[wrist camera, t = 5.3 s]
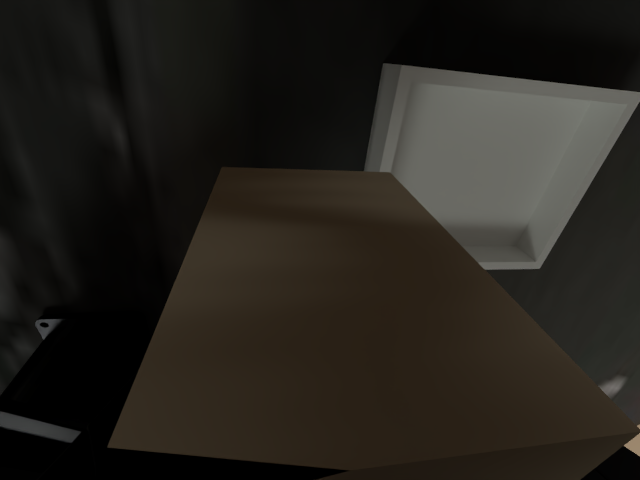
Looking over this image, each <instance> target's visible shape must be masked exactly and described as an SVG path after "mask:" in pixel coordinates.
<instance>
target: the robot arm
mask: <svg viewBox="0 0 640 480" xmlns="http://www.w3.org/2000/svg"><path fill="white" fill-rule="evenodd" d="M136 319H137V320H136ZM35 325H36V327H37V329H38V330H39V332H40V334H41V336H42V337H43V339H44V340H43V341H42V343H41V344H40V345H39V347H38V348H37V349H36V350H35V352H34V353H33V354H32V356H31V357H30V358H29V359H28V361H27V362H26V363H25V365H24V366H23V367H22V368H21V370H20V371H19V372H18V374H17V375H16V376H15V377H14V379H13V380H12V381H11V383H10V384H9V385H8V386H7V388H6V389H5V390H4V391H3V393H2V394H1V395H0V480H107V446H108V444H109V441H110V439H111V437H112V434H113V432H114V429H115V427H116V424H117V422H118V419H119V417H120V415H121V412H122V410H123V407H124V405H125V402H126V400H127V397H128V395H129V393H130V390H131V388H132V385H133V383H134V380H135V378H136V375H137V373H138V371H139V368H140V366H141V363H142V361H143V358H144V356H145V353H146V351H147V349H148V346H149V344H150V341H151V339H152V336H150V332H149V329H148V325H147V322H146V318H145V316H144V315H143V314H142V313H139V312H124V313H93V314H63V315H43V316H41V317H39V319H38V320H37V321H36V323H35ZM580 480H640V456H638V455H637V454H635V453H634V452H632V451H630V450H629V449H627V448H626V447H624V446H622V447H621V448H620V449H619V450H617V451H616V452H615V453H614V454H612V455H611V456H610V457H608V458H607V459H606V460H605V461H603V462H602V463H601V464H599V465H598V466H597V467H596V468H594V469H593V470H592V471H591V472H589V473H588V474H587V475H585V476H584V477H583V478H582V479H580Z"/></svg>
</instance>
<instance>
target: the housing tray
mask: <svg viewBox="0 0 640 480" xmlns="http://www.w3.org/2000/svg"><path fill="white" fill-rule="evenodd" d="M639 102H640V92H632V91H623V90H614V89H606V88H597V87H588V86H579V85H571V84H562V83H553V82H545V81H536V80H527V79H519V78H510V77H501V76H493V75H484V74H475V73H467V72H458V71H449V70H441V69H432V68H423V67H415V66H406V65H397V64H387V63H383V67H382V72H381V78H380V83H379V89H378V95H377V100H376V106H375V111H374V117H373V123H372V128H371V134H370V139H369V145H368V151H367V156H366V162H365V167H364V171H366V172H390V173H391V174H392V175H393V176H394V177H395V178H396V179H397V180H398V181H399V182H400V183H401V184H402V185H403V186H404V187H405V188H406V189H407V190H408V191H409V192H410V193H411V194H412V195H413V196H414V197H415V198H416V200H417V201H418V202H419V203H420V204H421V205H422V206H423V207H424V208H425V209H426V210H427V211H428V212H429V213H430V214H431V215H432V216H433V217H434V218H435V219H436V220H437V221H438V222H439V223H440V224H441V225H442V226H443V227H444V228H445V229H446V230H447V231H448V232H449V233H450V235H451V236H452V237H453V238H454V239H455V240H456V241H457V242H458V243H459V244H460V245H461V246H462V247H463V248H464V249H465V250H466V251H467V252H468V253H469V254H470V255H471V256H472V257H473V258H474V259H475V260H476V261H477V262H478V263H479V264H480V265H481V266H482V267H483V268H484V269H540V267H541V265H542V264H543V262H544V260H545V259H546V257H547V255H548V254H549V252H550V250H551V249H552V247H553V245H554V244H555V242H556V240H557V239H558V237H559V235H560V234H561V232H562V230H563V229H564V227H565V225H566V224H567V222H568V220H569V219H570V217H571V215H572V214H573V212H574V210H575V209H576V207H577V205H578V204H579V202H580V200H581V199H582V197H583V195H584V194H585V192H586V190H587V189H588V187H589V185H590V183H591V182H592V180H593V178H594V177H595V175H596V173H597V172H598V170H599V168H600V167H601V165H602V163H603V162H604V160H605V158H606V157H607V155H608V153H609V152H610V150H611V148H612V147H613V145H614V143H615V142H616V140H617V138H618V137H619V135H620V133H621V132H622V130H623V128H624V127H625V125H626V123H627V122H628V120H629V118H630V117H631V115H632V113H633V112H634V110H635V108H636V107H637V105H638V103H639Z"/></svg>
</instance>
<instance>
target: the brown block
mask: <svg viewBox="0 0 640 480" xmlns="http://www.w3.org/2000/svg"><path fill="white" fill-rule="evenodd" d="M639 433H640V429H639V428H638V427H637V426H636V425H635V424H634V423H633V422H632V421H631V420H630V419H629V418H628V417H627V416H626V415H625V414H624V413H623V412H622V411H621V409H620V408H619V407H618V406H617V405H616V404H615V403H614V402H613V401H612V400H611V399H610V398H609V397H608V396H607V395H606V394H605V393H604V392H603V391H602V390H601V389H600V388H599V387H598V386H597V385H596V384H595V383H594V382H593V381H592V380H591V379H590V378H589V377H588V376H587V374H586V373H585V372H584V371H583V370H582V369H581V368H580V367H579V366H578V365H577V364H576V363H575V362H574V361H573V360H572V359H571V358H570V357H569V356H568V355H567V354H566V353H565V352H564V351H563V350H562V349H561V348H560V347H559V346H558V345H557V344H556V343H555V342H554V341H553V339H552V338H551V337H550V336H549V335H548V334H547V333H546V332H545V331H544V330H543V329H542V328H541V327H540V326H539V325H538V324H537V323H536V322H535V321H534V320H533V319H532V318H531V317H530V316H529V315H528V314H527V313H526V312H525V311H524V310H523V309H522V308H521V307H520V306H519V305H518V303H517V302H516V301H515V300H514V299H513V298H512V297H511V296H510V295H509V294H508V293H507V292H506V291H505V290H504V289H503V288H502V287H501V286H500V285H499V284H498V283H497V282H496V281H495V280H494V279H493V278H492V277H491V276H490V275H489V274H488V273H487V272H486V271H485V270H484V268H483V267H482V266H481V265H480V264H479V263H478V262H477V261H476V260H475V259H474V258H473V257H472V256H471V255H470V254H469V253H468V252H467V251H466V250H465V249H464V248H463V247H462V246H461V245H460V244H459V243H458V242H457V241H456V240H455V239H454V238H453V237H452V236H451V235H450V233H449V232H448V231H447V230H446V229H445V228H444V227H443V226H442V225H441V224H440V223H439V222H438V221H437V220H436V219H435V218H434V217H433V216H432V215H431V214H430V213H429V212H428V211H427V210H426V209H425V208H424V207H423V206H422V205H421V204H420V203H419V202H418V201H417V200H416V198H415V197H414V196H413V195H412V194H411V193H410V192H409V191H408V190H407V189H406V188H405V187H404V186H403V185H402V184H401V183H400V182H399V181H398V180H397V179H396V178H395V177H394V176H393V175H392V174H391V173H390V172H366V171H334V170H301V169H269V168H237V167H222V168H221V170H220V173H219V175H218V178H217V180H216V183H215V185H214V187H213V190H212V192H211V195H210V197H209V200H208V202H207V204H206V207H205V209H204V212H203V214H202V217H201V219H200V222H199V224H198V226H197V229H196V231H195V234H194V236H193V239H192V241H191V244H190V246H189V248H188V251H187V253H186V256H185V258H184V261H183V263H182V266H181V268H180V270H179V273H178V275H177V278H176V280H175V283H174V285H173V288H172V290H171V292H170V295H169V297H168V300H167V302H166V305H165V307H164V310H163V312H162V314H161V317H160V319H159V322H158V324H157V327H156V329H155V331H154V334H153V336H152V339H151V341H150V344H149V346H148V349H147V351H146V353H145V356H144V358H143V361H142V363H141V366H140V368H139V371H138V373H137V375H136V378H135V380H134V383H133V385H132V388H131V390H130V393H129V395H128V397H127V400H126V402H125V405H124V407H123V410H122V412H121V415H120V417H119V419H118V422H117V424H116V427H115V429H114V432H113V434H112V437H111V439H110V441H109V444H108V446H107V480H580V479H582V478H583V477H584V476H585V475H587V474H588V473H589V472H591V471H592V470H593V469H594V468H596V467H597V466H598V465H599V464H601V463H602V462H603V461H605V460H606V459H607V458H608V457H610V456H611V455H612V454H614V453H615V452H616V451H617V450H619V449H620V448H621V447H622V446H624V445H625V444H626V443H628V442H629V441H630V440H631V439H633V438H634V437H635V436H636V435H638V434H639Z"/></svg>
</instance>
